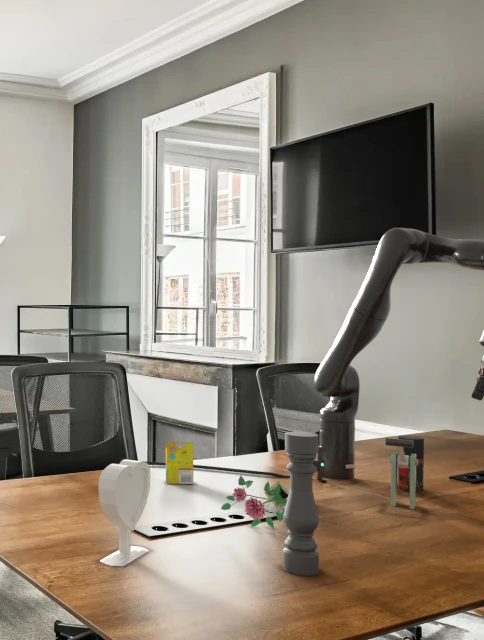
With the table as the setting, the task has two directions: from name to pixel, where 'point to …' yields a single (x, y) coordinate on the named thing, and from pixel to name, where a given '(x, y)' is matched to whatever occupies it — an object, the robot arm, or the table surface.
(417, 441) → the deodorant
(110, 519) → the heart sculpture
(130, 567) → the table surface
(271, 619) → the table surface
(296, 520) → the candle holder
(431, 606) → the table surface
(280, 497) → the flower vase
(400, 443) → the lever
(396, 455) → the bracket
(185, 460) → the crayon box
